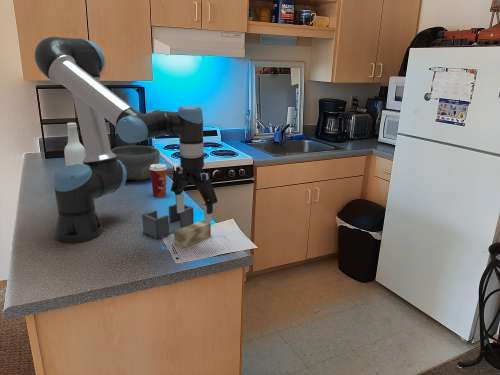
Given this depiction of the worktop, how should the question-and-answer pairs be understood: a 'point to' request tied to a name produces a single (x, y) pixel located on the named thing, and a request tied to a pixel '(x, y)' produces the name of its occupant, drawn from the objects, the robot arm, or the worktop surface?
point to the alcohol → (73, 147)
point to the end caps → (167, 221)
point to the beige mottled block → (192, 233)
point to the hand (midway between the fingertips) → (193, 217)
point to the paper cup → (158, 179)
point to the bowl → (137, 160)
